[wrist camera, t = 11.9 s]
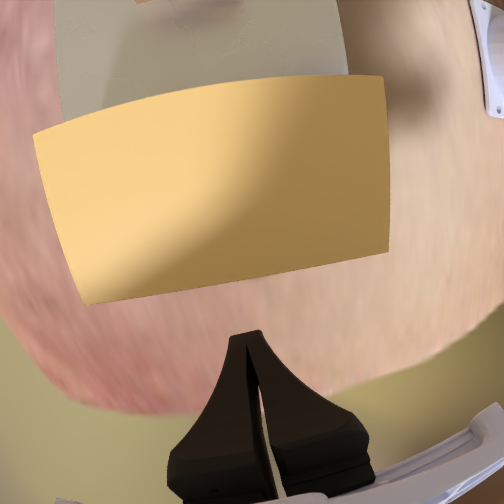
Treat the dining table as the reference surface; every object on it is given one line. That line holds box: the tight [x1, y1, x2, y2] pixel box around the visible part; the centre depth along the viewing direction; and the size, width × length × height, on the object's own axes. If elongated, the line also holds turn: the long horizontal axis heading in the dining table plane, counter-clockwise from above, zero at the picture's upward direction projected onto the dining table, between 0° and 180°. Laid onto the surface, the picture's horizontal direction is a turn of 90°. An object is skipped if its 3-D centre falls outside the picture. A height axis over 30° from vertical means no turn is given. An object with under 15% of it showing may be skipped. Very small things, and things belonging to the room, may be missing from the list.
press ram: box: [33, 75, 390, 306], centre depth 10 cm, size 9×5×5 cm, turn 98°
